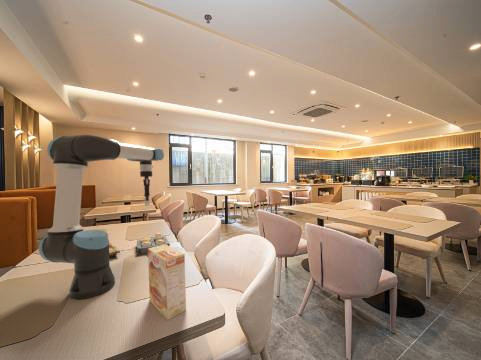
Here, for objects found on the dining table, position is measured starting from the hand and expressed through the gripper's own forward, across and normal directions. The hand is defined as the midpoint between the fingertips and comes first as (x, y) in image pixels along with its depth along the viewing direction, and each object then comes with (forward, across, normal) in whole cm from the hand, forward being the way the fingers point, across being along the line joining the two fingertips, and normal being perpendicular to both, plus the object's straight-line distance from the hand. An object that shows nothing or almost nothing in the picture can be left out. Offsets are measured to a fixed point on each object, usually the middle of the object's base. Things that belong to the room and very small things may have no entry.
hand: (147, 205), depth 138 cm
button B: (+26, -14, +2) cm, 29 cm away
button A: (+26, -14, -6) cm, 30 cm away
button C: (+23, -6, -6) cm, 25 cm away
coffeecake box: (+27, -77, -1) cm, 81 cm away
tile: (+26, -21, -2) cm, 34 cm away
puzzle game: (+27, -8, +25) cm, 37 cm away
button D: (+26, -6, +2) cm, 26 cm away
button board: (+26, -10, -2) cm, 28 cm away
